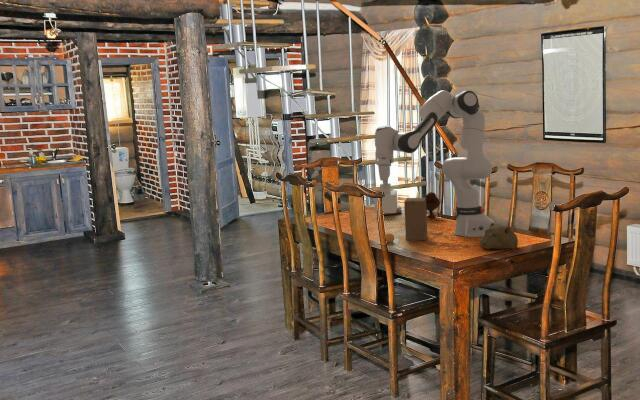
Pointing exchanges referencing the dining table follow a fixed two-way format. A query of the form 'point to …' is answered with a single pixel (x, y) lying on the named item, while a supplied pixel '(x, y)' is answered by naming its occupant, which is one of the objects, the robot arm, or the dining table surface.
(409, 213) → the wooden block
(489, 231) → the bear head
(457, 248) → the dining table surface
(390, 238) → the ball
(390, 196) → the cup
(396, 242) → the mark
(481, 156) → the robot arm
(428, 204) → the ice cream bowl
